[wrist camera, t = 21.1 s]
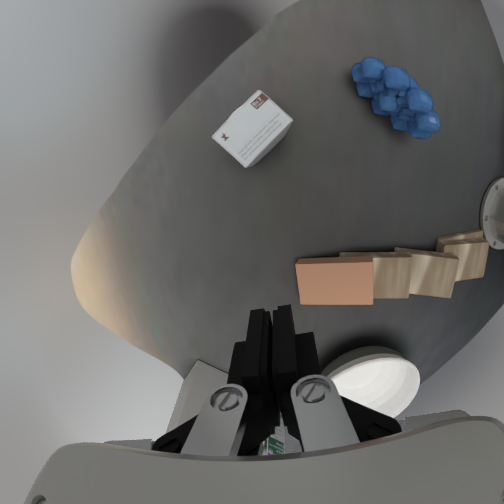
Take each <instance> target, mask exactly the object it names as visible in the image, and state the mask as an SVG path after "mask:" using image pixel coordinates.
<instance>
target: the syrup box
mask: <svg viewBox="0 0 504 504" xmlns="http://www.w3.org/2000/svg"><path fill="white" fill-rule="evenodd" d="M264 442H265V444H264V450H263V454H262V455H278V454H285V441H284V423H283V419H282V415H281V412H280V426H279V427H275V434H273V435H271V436H270V437H268V438H267V439H266V440H265V441H264Z"/></svg>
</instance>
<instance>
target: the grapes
mask: <svg viewBox="0 0 504 504" xmlns="http://www.w3.org/2000/svg"><path fill="white" fill-rule="evenodd" d="M351 73H352V77H353V80H354V81H355V82H357V83H356V88H357V92H358V94H359V96H363V97H367V98H372V100H371V105H372V109H373V112H374V113H375V114H379V115H384V116H385V115H390V114H391V116H390V119H391V123H392V126H393V129H396V130H399V131H409V133H410V135H411V136H412V137H415V138H418V139H427V138H429V137H430V136H431V133H436V132H437V131H439V129H440V126H441V124H440V119H439V117H438V115H437V113H436V112H435V111H433V110H432V109H433V101H432V98H431V96H430V94H429V93H428V91H426V90H424V89H421V88H419V86H418V83H417V81H416V80H415V79H414V78H412V77H410V76H409V75H408V73H407V71H406V70H404V69H402V68H400V67H397V66H387V67H386V66H385V64H384V62H383V61H382V60H379V59H377V58H373V57H366V58H364V59H363V60H362V61H361V63H356V64H354V65H353V66H352V69H351Z"/></svg>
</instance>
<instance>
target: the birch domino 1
mask: <svg viewBox="0 0 504 504" xmlns="http://www.w3.org/2000/svg"><path fill="white" fill-rule="evenodd" d="M357 256H373V298H408V297H409V289H410V280H411V269H412V255H411V253H410V252H340V254H339V257H357Z"/></svg>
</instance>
